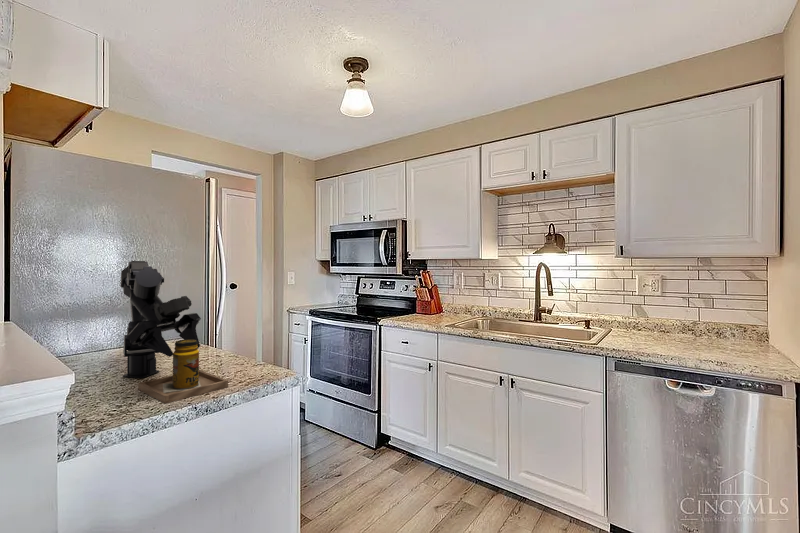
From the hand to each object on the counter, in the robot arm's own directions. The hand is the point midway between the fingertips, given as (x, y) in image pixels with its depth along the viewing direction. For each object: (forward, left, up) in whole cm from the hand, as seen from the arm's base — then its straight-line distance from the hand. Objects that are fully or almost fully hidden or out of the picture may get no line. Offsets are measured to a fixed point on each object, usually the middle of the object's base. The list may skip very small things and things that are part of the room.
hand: (185, 351), depth 102 cm
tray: (0, 0, -10) cm, 10 cm away
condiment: (-1, 0, -9) cm, 10 cm away
